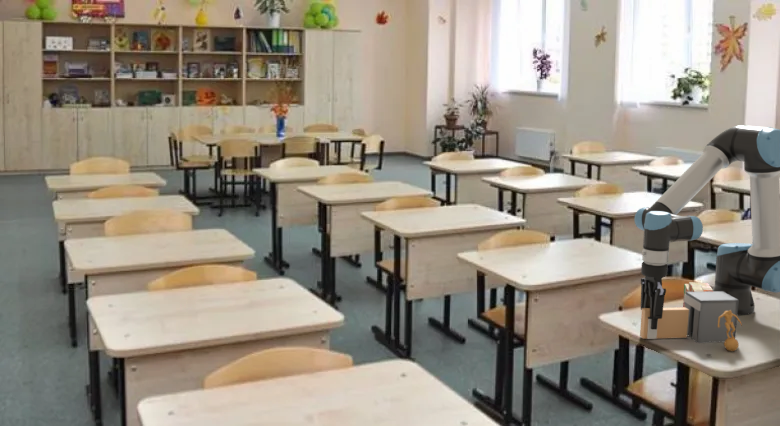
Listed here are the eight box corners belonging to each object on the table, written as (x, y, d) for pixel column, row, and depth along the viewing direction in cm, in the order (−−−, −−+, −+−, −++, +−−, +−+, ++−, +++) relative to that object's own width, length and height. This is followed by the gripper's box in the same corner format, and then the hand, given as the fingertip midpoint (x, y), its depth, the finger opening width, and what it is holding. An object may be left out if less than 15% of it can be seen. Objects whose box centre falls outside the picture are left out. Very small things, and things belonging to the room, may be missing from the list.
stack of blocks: (682, 309, 292) (684, 274, 290) (701, 310, 291) (704, 276, 288) (691, 328, 271) (694, 291, 269) (711, 330, 270) (715, 292, 268)
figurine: (723, 354, 247) (726, 314, 245) (710, 347, 253) (713, 308, 251) (747, 351, 250) (750, 312, 248) (733, 345, 255) (737, 307, 253)
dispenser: (718, 331, 268) (722, 291, 266) (734, 341, 259) (738, 300, 256) (681, 332, 267) (684, 291, 265) (696, 342, 257) (699, 300, 255)
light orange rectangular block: (683, 335, 263) (685, 307, 261) (686, 337, 261) (689, 309, 259) (639, 336, 262) (641, 308, 260) (643, 338, 259) (645, 310, 258)
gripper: (632, 256, 264) (627, 328, 268) (653, 269, 248) (648, 345, 252) (655, 256, 265) (650, 328, 269) (678, 268, 249) (672, 345, 253)
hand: (649, 336), depth 261 cm, fingers open, 3 cm apart
